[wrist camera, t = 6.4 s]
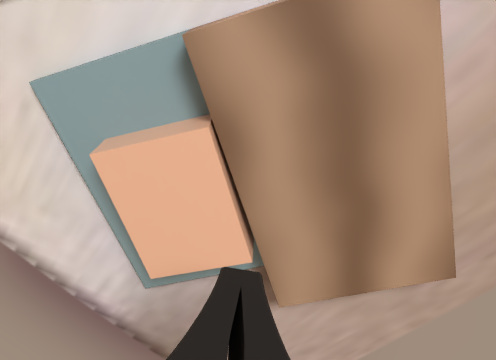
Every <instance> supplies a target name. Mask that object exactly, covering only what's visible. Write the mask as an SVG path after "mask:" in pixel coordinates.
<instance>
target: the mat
mask: <svg viewBox="0 0 496 360" xmlns="http://www.w3.org/2000/svg"><path fill="white" fill-rule="evenodd" d="M187 31H189V30H187ZM187 31H184V32H181V33H177V34H174V35H171V36H168V37H165V38H162V39H159V40H156V41H153V42H150V43H147V44H144V45H141V46H138V47H135V48H132V49H129V50H125V51H122V52H119V53H116V54H113V55H110V56H107V57H104V58H101V59H98V60H95V61H92V62H89V63H86V64H83V65H80V66H76V67H73V68H70V69H67V70H64V71H61V72H58V73H55V74H52V75H49V76H46V77H43V78H40V79H37V80H34V81H31V82H29V83H30V85H31V87H32V89H33V90H34V92H35V94H36V96H37V97H38V99H39V101H40V103H41V104H42V106H43V108H44V110H45V112H46V113H47V115H48V117H49V119H50V120H51V122H52V124H53V126H54V127H55V129H56V131H57V133H58V135H59V136H60V138H61V140H62V142H63V143H64V145H65V147H66V149H67V150H68V152H69V154H70V156H71V158H72V159H73V161H74V163H75V165H76V166H77V168H78V170H79V172H80V173H81V175H82V177H83V179H84V181H85V182H86V184H87V186H88V188H89V189H90V191H91V193H92V195H93V196H94V198H95V200H96V202H97V204H98V205H99V207H100V209H101V211H102V212H103V214H104V216H105V218H106V219H107V221H108V223H109V225H110V226H111V228H112V230H113V232H114V234H115V235H116V237H117V239H118V241H119V242H120V244H121V246H122V248H123V249H124V251H125V253H126V255H127V257H128V258H129V260H130V262H131V264H132V265H133V267H134V269H135V271H136V272H137V274H138V276H139V278H140V280H141V281H142V283H143V285H144V287H145V288H150V287H156V286H161V285H166V284H171V283H177V282H182V281H187V280H192V279H197V278H203V277H208V276H213V275H218V274H220V270H221V268H223V267H221V268H215V269H209V270H203V271H197V272H190V273H184V274H178V275H172V276H166V277H160V278H154V279H151V278H150V276H149V274H148V272H147V270H146V268H145V266H144V264H143V262H142V260H141V258H140V256H139V254H138V252H137V250H136V248H135V246H134V244H133V242H132V240H131V238H130V236H129V234H128V232H127V230H126V228H125V226H124V224H123V222H122V220H121V218H120V216H119V214H118V212H117V210H116V208H115V206H114V204H113V202H112V200H111V198H110V196H109V194H108V192H107V190H106V188H105V186H104V184H103V182H102V180H101V178H100V176H99V174H98V172H97V169H96V167H95V165H94V163H93V161H92V159H91V157H90V155H89V154H90V153H91V152H92V151H94V150H95V149H96V148H97V147H98V146H99V145H100V144H101V143H102V142H103V141H104V140H105V139H107V138H111V137H116V136H120V135H124V134H128V133H132V132H137V131H141V130H145V129H149V128H153V127H158V126H162V125H166V124H170V123H174V122H179V121H183V120H187V119H191V118H195V117H200V116H204V115H208V114H210V112H209V110H208V107H207V104H206V101H205V99H204V96H203V93H202V90H201V87H200V85H199V82H198V79H197V76H196V73H195V71H194V68H193V65H192V62H191V59H190V57H189V54H188V51H187V48H186V46H185V43H184V40H183V37H182V34H184V33H185V32H187ZM247 219H248V218H247ZM248 222H249V221H248ZM249 225H250V224H249ZM250 228H251V227H250ZM251 232H252V230H251ZM252 235H253V232H252ZM253 238H254V235H253ZM260 266H264V263H263V260H262V257H261V255H260V252H259V249H258V246H257V243H256V241H255V238H254V247H253V261H252V263H245V264H239V265H233V266H227V267H230V268H236V269H242V270H244V269H249V268H255V267H260Z"/></svg>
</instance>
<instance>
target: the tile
mask: <svg viewBox="0 0 496 360" xmlns="http://www.w3.org/2000/svg"><path fill="white" fill-rule="evenodd" d="M89 155H90V157H91V159H92V161H93V163H94V165H95V167H96V169H97V172H98V174H99V176H100V178H101V180H102V182H103V184H104V186H105V188H106V190H107V192H108V194H109V196H110V198H111V200H112V202H113V204H114V206H115V208H116V210H117V212H118V214H119V216H120V218H121V220H122V222H123V224H124V226H125V228H126V230H127V232H128V234H129V236H130V238H131V240H132V242H133V244H134V246H135V248H136V250H137V252H138V254H139V256H140V258H141V260H142V262H143V264H144V266H145V268H146V270H147V272H148V274H149V276H150V278H151V279H154V278H160V277H166V276H172V275H178V274H184V273H190V272H197V271H203V270H209V269H215V268H221V267H227V266H233V265H239V264H245V263H252V261H253V247H254V238H253V235H252V232H251V228H250V225H249V222H248V219H247V216H246V213H245V210H244V207H243V204H242V202H241V199H240V196H239V193H238V190H237V188H236V185H235V182H234V179H233V177H232V174H231V171H230V168H229V165H228V163H227V160H226V157H225V154H224V151H223V149H222V146H221V143H220V140H219V138H218V135H217V132H216V129H215V126H214V124H213V121H212V118H211V115H210V114H208V115H204V116H200V117H195V118H191V119H187V120H183V121H179V122H174V123H170V124H166V125H162V126H158V127H153V128H149V129H145V130H141V131H137V132H132V133H128V134H124V135H120V136H116V137H111V138H107V139H105V140H104V141H103V142H102V143H101V144H100V145H99V146H98V147H97V148H96V149H95V150H94V151H92V152H91V153H90V154H89Z"/></svg>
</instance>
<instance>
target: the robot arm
mask: <svg viewBox="0 0 496 360" xmlns="http://www.w3.org/2000/svg"><path fill="white" fill-rule="evenodd" d="M228 345H229V349H228ZM227 355H228V360H290V358H289V356H288V353H287V351H286V349H285V347H284V344H283V342H282V340H281V337H280V335H279V332H278V330H277V327H276V324H275V321H274V319H273V316H272V313H271V310H270V307H269V304H268V300H267V297H266V293H265V289H264V285H263V280H262V275H261V274H260V273H259V272H253V271H247V270H242V269H236V268H230V267H223V268H221V270H220V274H219V277H218V279H217V282H216V284H215V286H214V288H213V290H212V293H211V295H210V296H209V298H208V300H207V302H206V303H205V305H204V307H203V309H202V310H201V312H200V314H199V315H198V317H197V318H196V320H195V321H194V323H193V324H192V326H191V327H190V329H189V330H188V332H187V333H186V335H185V336H184V337H183V339H182V340H181V341H180V343H179V344H178V345H177V347H176V348H175V349H174V350H173V352H172V353H171V354H170V355H169V357H168V358H167V359H166V360H227Z"/></svg>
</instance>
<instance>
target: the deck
mask: <svg viewBox="0 0 496 360" xmlns="http://www.w3.org/2000/svg"><path fill="white" fill-rule="evenodd" d="M182 37H183V40H184V43H185V46H186V48H187V51H188V54H189V57H190V59H191V62H192V65H193V68H194V71H195V73H196V76H197V79H198V82H199V85H200V87H201V90H202V93H203V96H204V99H205V101H206V104H207V107H208V110H209V112H210V115H211V118H212V121H213V124H214V126H215V129H216V132H217V135H218V138H219V140H220V143H221V146H222V149H223V151H224V154H225V157H226V160H227V163H228V165H229V168H230V171H231V174H232V177H233V179H234V182H235V185H236V188H237V190H238V193H239V196H240V199H241V202H242V204H243V207H244V210H245V213H246V216H247V218H248V221H249V224H250V227H251V230H252V232H253V235H254V238H255V241H256V243H257V246H258V249H259V252H260V255H261V257H262V260H263V263H264V266H265V269H266V271H267V274H268V277H269V280H270V282H271V285H272V288H273V291H274V294H275V296H276V299H277V302H278V305H279V307H285V306H291V305H296V304H302V303H308V302H314V301H320V300H326V299H332V298H338V297H344V296H350V295H356V294H361V293H367V292H373V291H379V290H385V289H391V288H397V287H403V286H409V285H415V284H421V283H426V282H432V281H438V280H444V279H450V278H456V267H455V251H454V234H453V217H452V200H451V183H450V167H449V150H448V133H447V116H446V99H445V82H444V66H443V49H442V32H441V15H440V0H278V1H275V2H272V3H269V4H266V5H263V6H260V7H257V8H254V9H251V10H248V11H245V12H242V13H239V14H236V15H233V16H230V17H226V18H223V19H220V20H217V21H214V22H211V23H208V24H205V25H202V26H199V27H196V28H193V29H190V30H189V31H187V32H185V33H184V34H182Z"/></svg>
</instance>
